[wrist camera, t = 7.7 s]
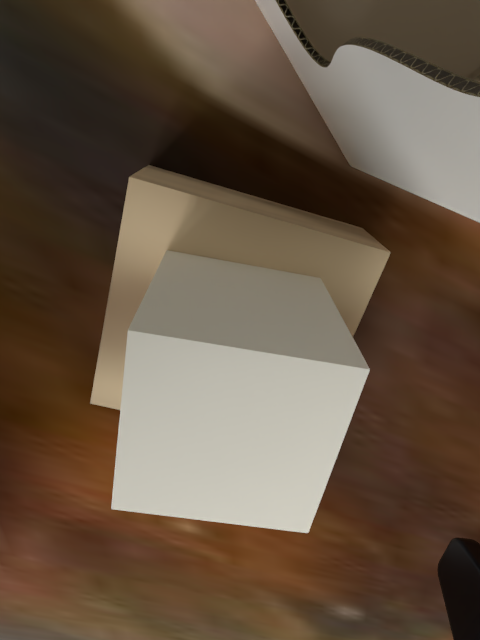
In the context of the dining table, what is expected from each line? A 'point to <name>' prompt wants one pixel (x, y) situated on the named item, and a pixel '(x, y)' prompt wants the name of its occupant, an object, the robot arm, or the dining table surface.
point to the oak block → (224, 253)
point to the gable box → (394, 87)
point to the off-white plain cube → (234, 395)
